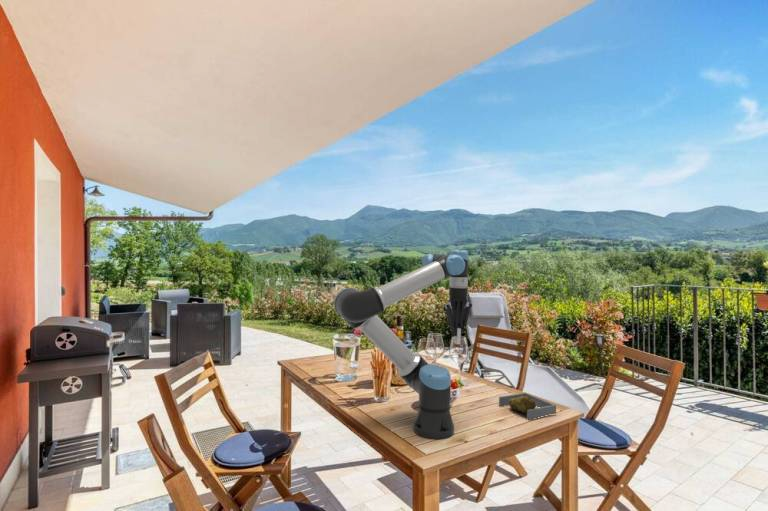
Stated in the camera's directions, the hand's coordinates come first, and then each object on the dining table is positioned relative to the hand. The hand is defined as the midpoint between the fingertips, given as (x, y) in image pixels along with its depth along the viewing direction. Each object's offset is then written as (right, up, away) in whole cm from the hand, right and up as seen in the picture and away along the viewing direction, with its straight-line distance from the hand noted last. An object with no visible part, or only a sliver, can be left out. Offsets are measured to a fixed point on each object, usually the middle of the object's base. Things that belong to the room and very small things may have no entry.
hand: (457, 343), depth 178 cm
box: (+31, -30, +6) cm, 44 cm away
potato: (+28, -30, +3) cm, 41 cm away
